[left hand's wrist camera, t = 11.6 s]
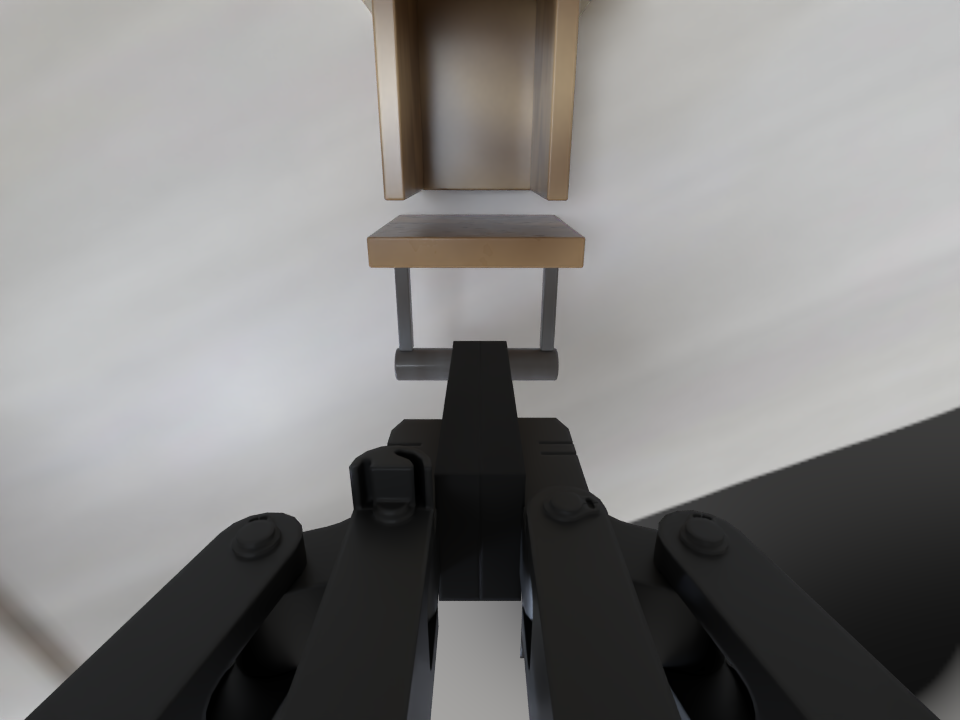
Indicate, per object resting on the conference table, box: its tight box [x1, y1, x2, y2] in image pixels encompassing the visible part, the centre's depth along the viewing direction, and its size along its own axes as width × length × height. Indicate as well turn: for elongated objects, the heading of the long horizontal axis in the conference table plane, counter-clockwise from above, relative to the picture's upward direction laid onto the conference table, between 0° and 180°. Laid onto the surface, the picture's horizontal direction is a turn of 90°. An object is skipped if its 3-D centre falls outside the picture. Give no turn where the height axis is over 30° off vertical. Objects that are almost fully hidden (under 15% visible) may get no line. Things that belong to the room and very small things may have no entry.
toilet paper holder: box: [367, 0, 585, 380], centre depth 22 cm, size 21×8×8 cm, turn 0°
